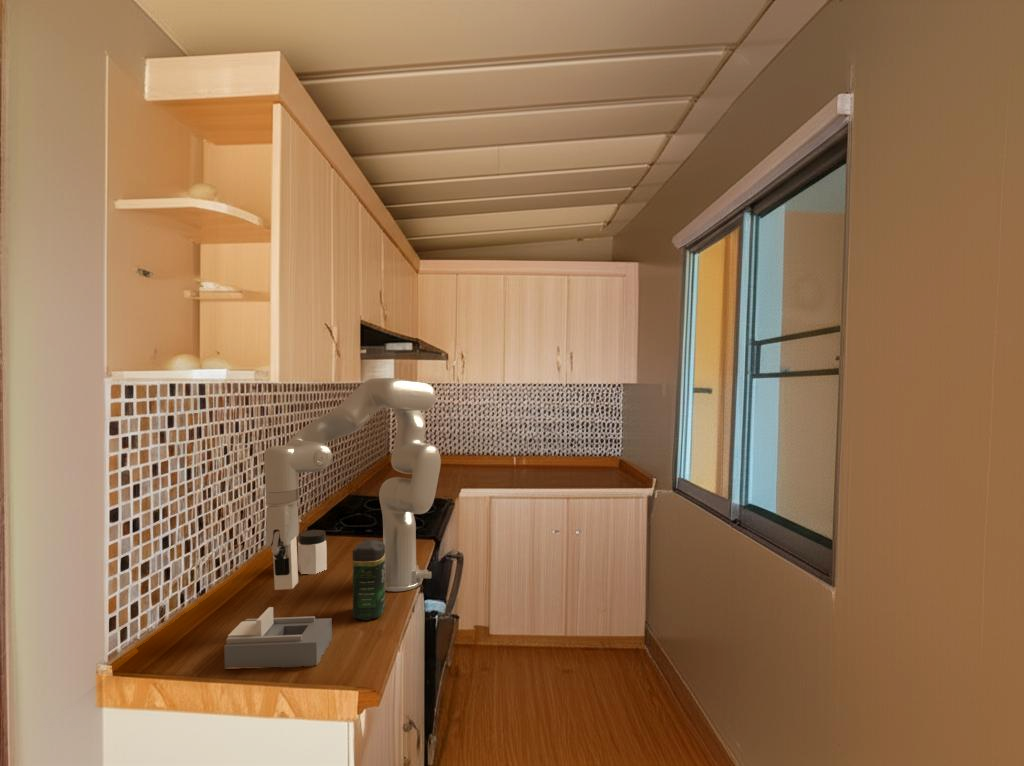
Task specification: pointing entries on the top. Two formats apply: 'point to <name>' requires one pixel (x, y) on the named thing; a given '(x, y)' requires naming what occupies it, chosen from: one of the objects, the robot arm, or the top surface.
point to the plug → (292, 577)
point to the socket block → (282, 644)
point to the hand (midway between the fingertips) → (286, 570)
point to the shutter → (254, 626)
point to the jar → (312, 552)
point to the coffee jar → (368, 579)
